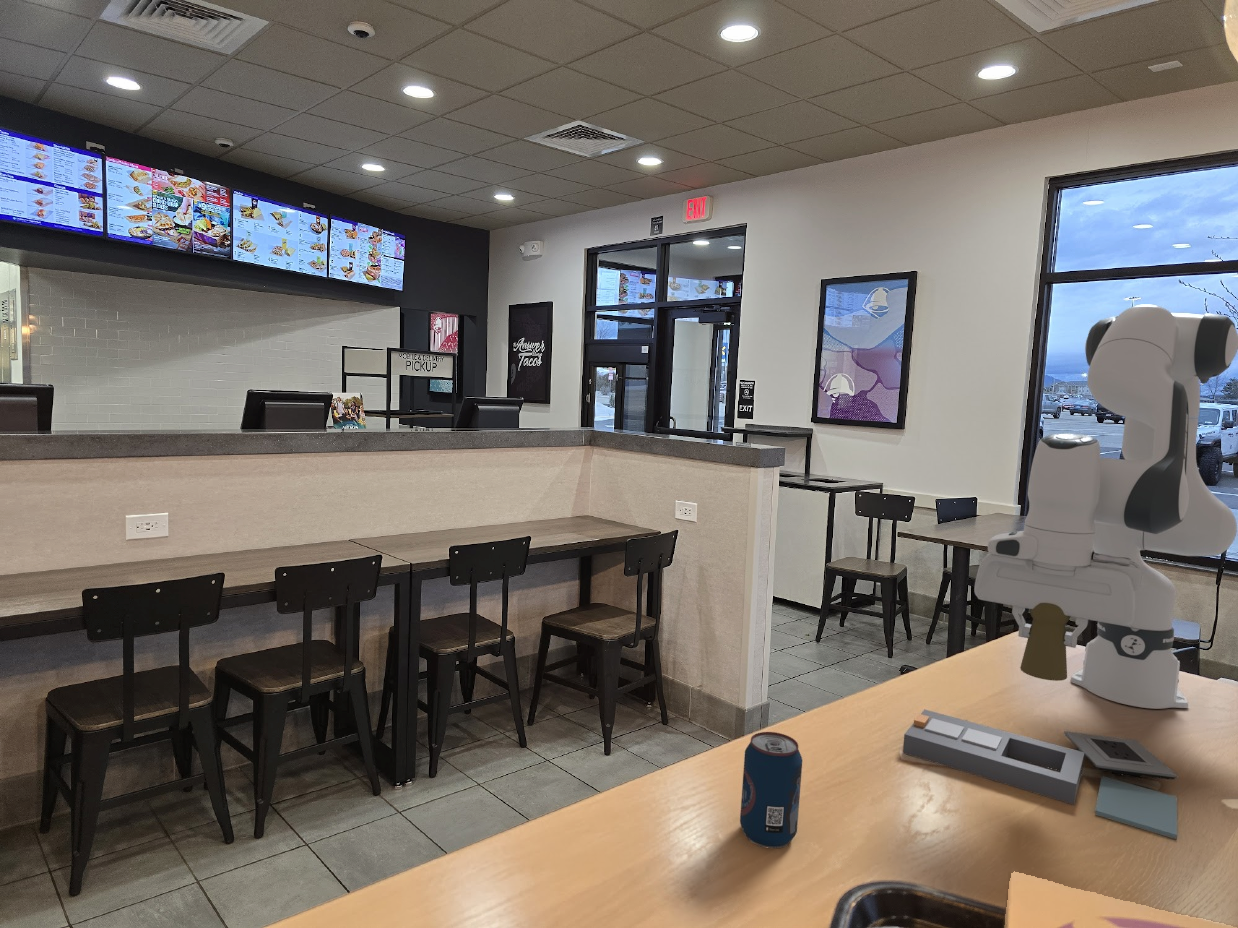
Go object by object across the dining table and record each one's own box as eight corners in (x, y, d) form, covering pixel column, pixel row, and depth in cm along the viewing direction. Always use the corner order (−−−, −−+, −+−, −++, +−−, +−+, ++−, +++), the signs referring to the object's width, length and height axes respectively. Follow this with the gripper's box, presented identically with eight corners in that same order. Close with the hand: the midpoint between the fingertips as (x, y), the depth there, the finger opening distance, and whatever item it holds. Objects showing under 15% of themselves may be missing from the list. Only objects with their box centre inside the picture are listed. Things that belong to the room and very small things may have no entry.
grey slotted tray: (922, 726, 131) (924, 704, 130) (1082, 771, 117) (1085, 747, 117) (902, 752, 121) (904, 728, 120) (1074, 804, 108) (1077, 778, 107)
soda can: (736, 817, 100) (742, 727, 99) (790, 820, 100) (797, 730, 99) (742, 849, 94) (749, 753, 92) (801, 853, 93) (809, 757, 92)
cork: (1057, 683, 110) (1066, 607, 109) (1013, 670, 115) (1020, 597, 113) (1073, 674, 114) (1082, 600, 113) (1030, 662, 119) (1037, 591, 117)
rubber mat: (1101, 779, 115) (1101, 775, 115) (1176, 800, 110) (1176, 796, 110) (1094, 814, 105) (1095, 810, 105) (1176, 839, 100) (1177, 834, 100)
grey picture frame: (1176, 789, 112) (1177, 773, 112) (1095, 778, 114) (1096, 762, 114) (1134, 752, 125) (1136, 738, 125) (1062, 743, 127) (1064, 729, 127)
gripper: (1144, 556, 109) (1132, 652, 111) (985, 533, 121) (976, 621, 122) (1143, 564, 104) (1131, 664, 105) (976, 540, 115) (967, 631, 117)
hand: (1046, 641), depth 114 cm, fingers closed on cork, 4 cm apart
